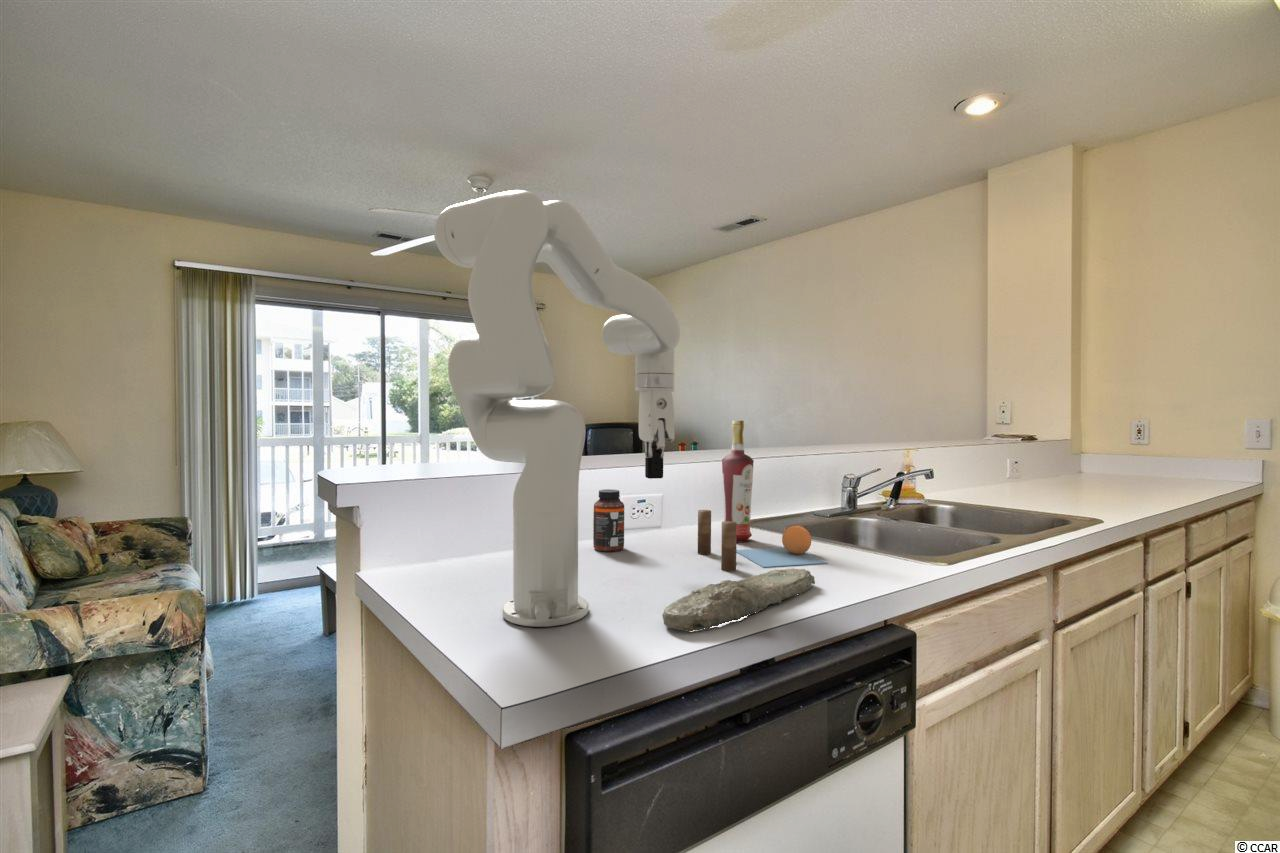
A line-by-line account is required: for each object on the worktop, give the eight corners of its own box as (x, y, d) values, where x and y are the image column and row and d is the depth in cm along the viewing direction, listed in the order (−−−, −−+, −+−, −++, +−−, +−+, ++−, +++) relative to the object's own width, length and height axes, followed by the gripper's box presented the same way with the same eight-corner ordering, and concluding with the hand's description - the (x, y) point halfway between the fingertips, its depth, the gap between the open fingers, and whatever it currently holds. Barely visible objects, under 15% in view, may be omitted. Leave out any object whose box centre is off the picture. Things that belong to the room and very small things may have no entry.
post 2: (738, 570, 111) (738, 523, 111) (724, 571, 111) (725, 524, 110) (732, 567, 114) (733, 520, 114) (719, 568, 113) (719, 521, 113)
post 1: (712, 554, 124) (713, 511, 124) (700, 555, 123) (700, 512, 123) (708, 551, 127) (708, 509, 127) (695, 551, 126) (696, 510, 126)
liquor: (738, 545, 133) (739, 421, 132) (714, 539, 139) (715, 420, 138) (759, 540, 138) (760, 420, 137) (735, 535, 143) (736, 420, 143)
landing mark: (827, 563, 117) (827, 562, 117) (763, 567, 114) (763, 566, 114) (792, 547, 131) (792, 546, 131) (734, 551, 127) (734, 550, 127)
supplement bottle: (623, 552, 125) (623, 492, 125) (591, 552, 125) (591, 492, 125) (625, 545, 132) (625, 488, 132) (594, 545, 132) (595, 488, 132)
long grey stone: (830, 597, 101) (779, 588, 108) (830, 566, 101) (779, 559, 108) (700, 642, 76) (645, 626, 83) (700, 601, 76) (645, 588, 83)
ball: (821, 534, 123) (797, 525, 121) (810, 561, 123) (787, 552, 121) (805, 527, 129) (782, 519, 127) (795, 553, 128) (772, 545, 127)
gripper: (685, 382, 108) (684, 482, 109) (662, 385, 123) (661, 473, 123) (645, 381, 106) (645, 483, 107) (627, 385, 121) (626, 474, 121)
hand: (654, 477), depth 115 cm, fingers closed
